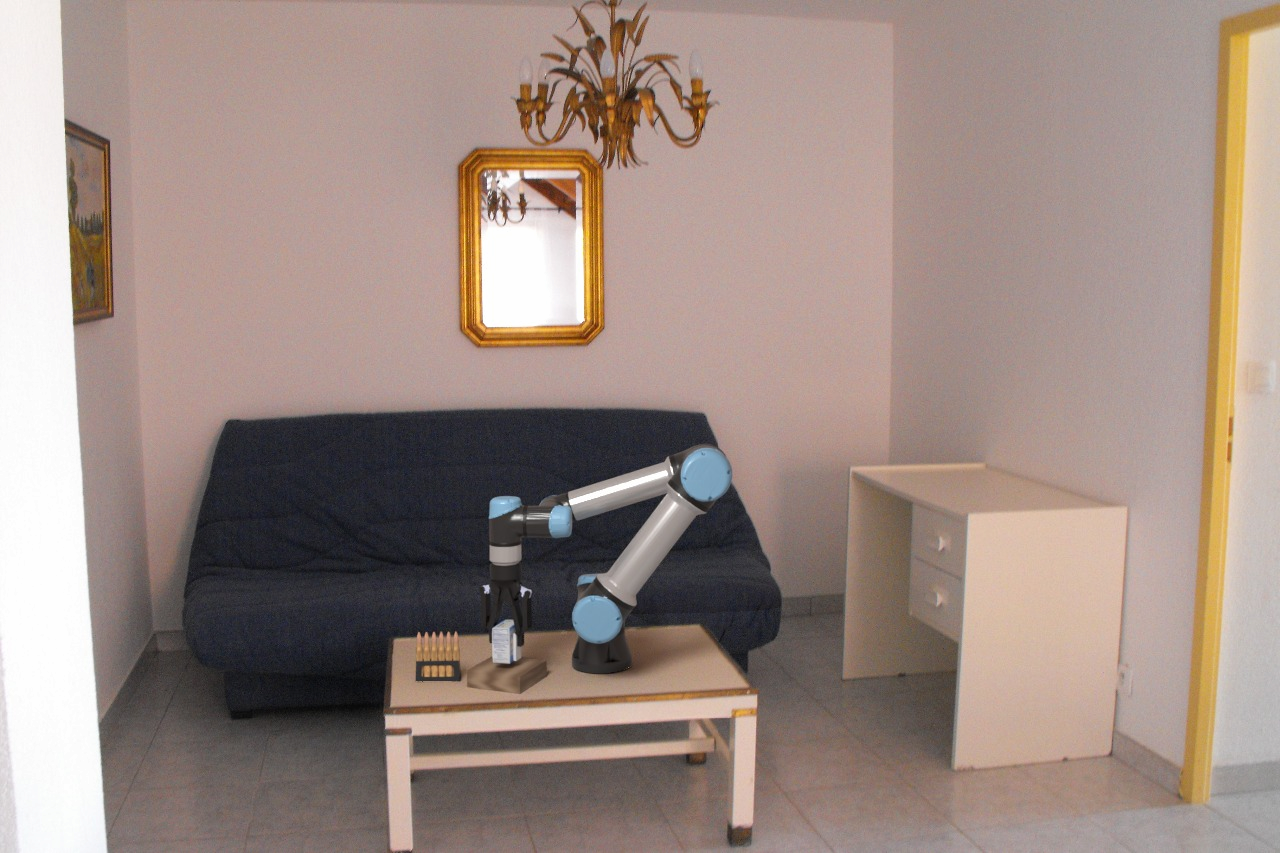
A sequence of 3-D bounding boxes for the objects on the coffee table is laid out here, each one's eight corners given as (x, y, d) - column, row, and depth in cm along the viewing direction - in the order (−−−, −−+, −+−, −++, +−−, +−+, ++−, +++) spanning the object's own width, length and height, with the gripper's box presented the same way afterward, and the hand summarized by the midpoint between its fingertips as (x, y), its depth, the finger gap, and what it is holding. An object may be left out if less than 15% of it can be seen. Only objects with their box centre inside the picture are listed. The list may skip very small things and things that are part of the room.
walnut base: (546, 676, 273) (546, 660, 272) (520, 693, 260) (519, 676, 259) (495, 670, 278) (495, 654, 277) (467, 686, 265) (466, 670, 264)
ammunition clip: (461, 679, 271) (460, 630, 270) (460, 681, 269) (459, 632, 268) (416, 679, 270) (415, 630, 269) (415, 682, 269) (414, 632, 268)
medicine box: (509, 664, 264) (509, 628, 263) (492, 663, 265) (491, 627, 264) (521, 655, 271) (520, 619, 271) (503, 653, 272) (503, 618, 272)
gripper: (546, 561, 266) (547, 657, 268) (480, 556, 273) (481, 649, 275) (532, 567, 259) (533, 666, 261) (464, 562, 266) (466, 658, 268)
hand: (506, 657), depth 268 cm, fingers closed on medicine box, 5 cm apart
